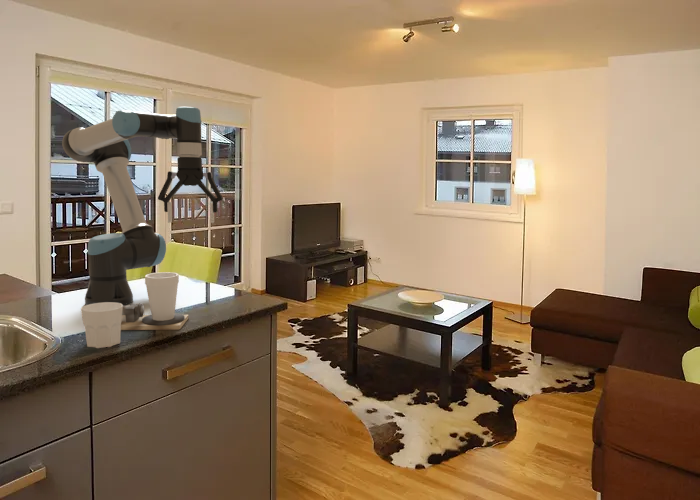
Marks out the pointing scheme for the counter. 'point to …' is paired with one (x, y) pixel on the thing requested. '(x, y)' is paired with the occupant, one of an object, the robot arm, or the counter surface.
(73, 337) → the counter surface
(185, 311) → the counter surface
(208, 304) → the counter surface
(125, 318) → the shaft stand
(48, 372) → the counter surface
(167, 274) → the foam cup
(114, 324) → the cup
